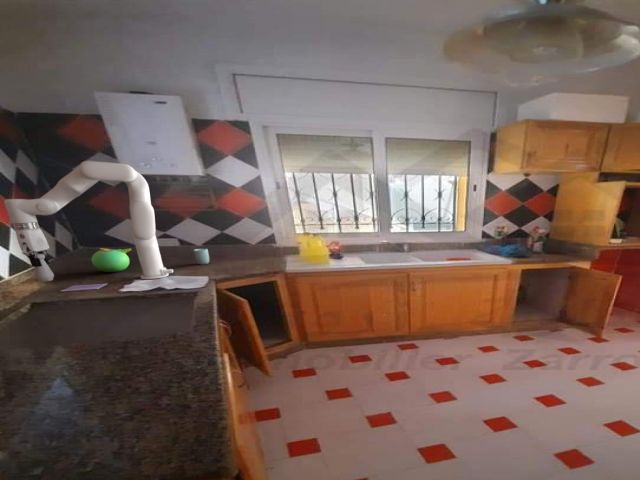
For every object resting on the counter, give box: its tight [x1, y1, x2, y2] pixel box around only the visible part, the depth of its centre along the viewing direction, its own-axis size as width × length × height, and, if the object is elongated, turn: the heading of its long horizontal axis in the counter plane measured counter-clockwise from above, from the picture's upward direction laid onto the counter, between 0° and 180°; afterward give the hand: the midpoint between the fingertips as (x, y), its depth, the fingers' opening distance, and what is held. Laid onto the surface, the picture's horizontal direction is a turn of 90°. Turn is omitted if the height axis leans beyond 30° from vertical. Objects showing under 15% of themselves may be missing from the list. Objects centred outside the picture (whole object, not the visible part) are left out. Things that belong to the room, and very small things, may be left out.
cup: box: [193, 248, 210, 266], centre depth 212 cm, size 8×8×10 cm
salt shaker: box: [32, 253, 55, 283], centre depth 152 cm, size 6×6×13 cm
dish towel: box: [59, 282, 109, 293], centre depth 160 cm, size 14×10×1 cm
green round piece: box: [91, 247, 132, 273], centre depth 190 cm, size 18×17×15 cm
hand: (41, 265), depth 151 cm, fingers closed on salt shaker, 4 cm apart
